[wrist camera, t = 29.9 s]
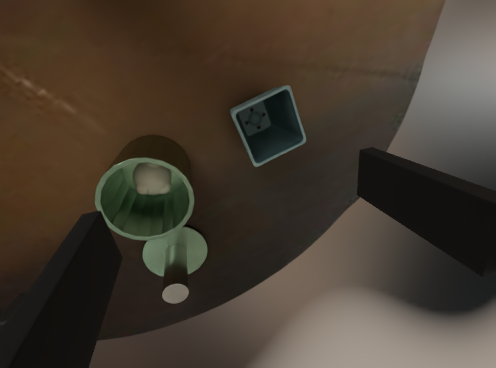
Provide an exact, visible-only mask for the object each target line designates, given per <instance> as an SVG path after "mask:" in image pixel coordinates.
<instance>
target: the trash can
mask: <svg viewBox="0 0 496 368" xmlns="http://www.w3.org/2000/svg"><path fill="white" fill-rule="evenodd" d="M145 162H146V163H152V164H158V165H161V166H163V167H166V168H168V169H170V171H171V176H172V177H171V189H170V190H169V192H167V193H165V194H160V193H159V194H155V195H149V194H144V195H143V194H140V193H138V192H137V191H136V186H135V184H134V182H133V171H134V169H135V167H136V166H137V165H138V164H139V163H145ZM95 205H96V208H97V211H100V210H101V212H102V215H103V217H104V219H105V221H106V223H107V225H108V227H109V228H110V229H112V230H113V231H115V232H116V233H118V234H119V235H122V236H125V237H128V238H131V239H134V240H146V241H150V240H156V239H162V238H164V237H167V236H169V235H171V234H173V233H175V232H177V231H178V230H179V229H180V228H181V227H182V226H184V225H185V224H186V222H187V220H188V219H189V217H190V216H191V214H192V211H193V206H194V194H193V186H192V178H191V171H190V164H189V160H188V157H187V155H186V153H185V151H184V150H183V149H182V148H181V147H180V146H179V145H178V144H177V143H176V142H174V141H172V140H171V139H168V138H166V137H163V136H157V135H147V136H142V137H139V138H137V139H135V140H133V141H131V142H130V143H129V144H128V145H127V146H126V147H125V148H124V149H123V150H122V151H121V153H120V154H119V155H118V156H117V158H116V159H115V160H114V161H113V163H112V164H111V165H110V167H109V168H108V169H107V170H106V172H105V173H104V174H103V176H102V177H101V179H100V181H99V183H98V185H97V187H96V192H95Z"/></svg>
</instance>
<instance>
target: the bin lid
mask: <svg viewBox="0 0 496 368" xmlns="http://www.w3.org/2000/svg"><path fill="white" fill-rule="evenodd" d="M206 256H207V243H206V240H205V238H204V237H203V235H202V234H201V233H200V232H198V231H197V230H195V229H194V228H191V227H188V226H182V227H181V228H180V229H179V230H178V231H177V232H175V233H173V234H171V235H169V236H167V237H164V238H162V239H156V240H150V241H146V243H145V245H144V248H143V260H144V263H145V265H146V266H147V267H148V268H149V270H151V271H152V272H153V273H155V274H157V275H160V276H163V290H162V297H163V299H164V300H165V301H166V302H168V303H179V302H181V301H183V300H185V299H186V298H187V296H188V294H189V286H188V274H190V273H192V272H194V271H195V270H197V269H198V268H199V267H200V266H201V265H202V264H203V262H204V260H205V259H206Z"/></svg>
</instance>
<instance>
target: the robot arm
mask: <svg viewBox="0 0 496 368" xmlns="http://www.w3.org/2000/svg"><path fill="white" fill-rule="evenodd" d="M357 195H358V196H359V197H361V198H363V199H364V200H366V201H367V202H369V203H370V204H372V205H373V206H375V207H376V208H378V209H379V210H381V211H383V212H384V213H386V214H387V215H389V216H390V217H392V218H393V219H395V220H396V221H398V222H399V223H401V224H402V225H404V226H406V227H407V228H408V229H410V230H411V231H413V232H415V233H416V234H418V235H419V236H421V237H422V238H424V239H425V240H427V241H429V242H430V243H431V244H433V245H434V246H436V247H438V248H439V249H441V250H442V251H444V252H445V253H447V254H448V255H450V256H451V257H453V258H454V259H456V260H457V261H459V262H460V263H462V264H463V265H465V266H467V267H468V268H470V269H471V270H473V271H474V272H476V273H477V274H479V275H480V276H485V275H488V274H490V273H493V272H495V271H496V191H494V190H491V189H488V188H485V187H482V186H480V185H477V184H474V183H471V182H468V181H466V180H463V179H460V178H457V177H454V176H451V175H449V174H446V173H443V172H440V171H438V170H435V169H432V168H429V167H426V166H424V165H421V164H418V163H415V162H412V161H410V160H407V159H404V158H401V157H398V156H395V155H393V154H390V153H387V152H384V151H381V150H379V149H376V148H373V147H371V148H367V149H362V150H360V155H359V171H358V187H357ZM121 261H122V256H121V253H120V251H119V249H118V247H117V245H116V243H115V240H114V238H113V236H112V234H111V232H110V230H109V228H108V225H107V223H106V221H105V219H104V217H103V215H102V212H101V210H100V211H96V212H92V213H88V214H83V215H82V216H81V217H80V218H79V220H78V221H77V223H76V224H75V225H74V227H73V228H72V230H71V231H70V233H69V234H68V235H67V237H66V238H65V240H64V241H63V242H62V244H61V245H60V247H59V248H58V250H57V251H56V252H55V254H54V255H53V257H52V258H51V259H50V261H49V262H48V264H47V265H46V267H45V268H44V269H43V271H42V272H41V274H40V275H39V276H38V278H37V279H36V281H35V282H34V284H33V285H32V286H31V288H30V289H29V291H28V292H26V293H23V294H20V295H19V296H18V297H17V298H15V299H14V300H13V301H12V302H11V303H10V304H9V305H8V306H6V307H5V308H4V309H3V310H2V311H1V313H0V368H89V364H90V361H91V358H92V355H93V352H94V348H95V345H96V342H97V339H98V335H99V332H100V329H101V326H102V323H103V319H104V316H105V313H106V310H107V306H108V303H109V300H110V297H111V294H112V290H113V287H114V284H115V281H116V278H117V274H118V271H119V268H120V265H121Z"/></svg>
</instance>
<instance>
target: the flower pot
mask: <svg viewBox="0 0 496 368" xmlns="http://www.w3.org/2000/svg"><path fill="white" fill-rule="evenodd" d="M250 108H252V109H253V110H252V111H250ZM262 113H264V114H265V115H264V116H262ZM230 114H231V116H232V119H233V121H234V123H235V125H236V128H237V130H238V132H239V134H240V137H241V139H242V141H243V143H244V146H245V148H246V150H247V153H248V155H249V157H250V159H251V161H252V163H253V165H254V166H255V167H258V166H260V165H262V164H264V163H266V162H268V161H270V160H272V159H274V158H276V157H278V156H280V155H282V154H284V153H286V152H288V151H290V150H292V149H294V148H296V147H298V146H300V145H302V144H304V143H305V142H306V136H305V133H304V130H303V127H302V124H301V121H300V117H299V114H298V111H297V107H296V104H295V101H294V97H293V93H292V90H291V88H290V86H289V85H285V86H281V87H276V88H273V89H270V90H269V91H267V92H265V93H263V94H261V95H259V96H256V97H254V98H252V99H250V100H248V101H246V102H244V103H242V104H240V105H238V106H235V107H233V108H232V109H231V110H230ZM245 121H247V122H248V123H247V124H245ZM258 125H259V128H257V126H258Z"/></svg>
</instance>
